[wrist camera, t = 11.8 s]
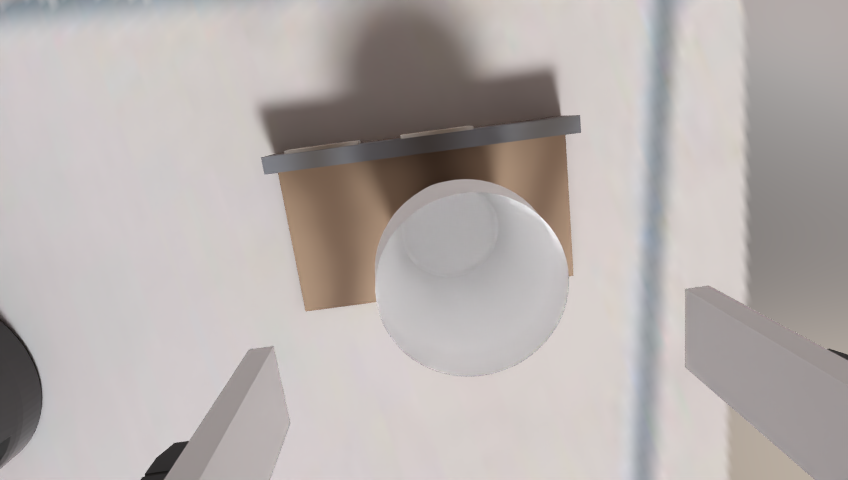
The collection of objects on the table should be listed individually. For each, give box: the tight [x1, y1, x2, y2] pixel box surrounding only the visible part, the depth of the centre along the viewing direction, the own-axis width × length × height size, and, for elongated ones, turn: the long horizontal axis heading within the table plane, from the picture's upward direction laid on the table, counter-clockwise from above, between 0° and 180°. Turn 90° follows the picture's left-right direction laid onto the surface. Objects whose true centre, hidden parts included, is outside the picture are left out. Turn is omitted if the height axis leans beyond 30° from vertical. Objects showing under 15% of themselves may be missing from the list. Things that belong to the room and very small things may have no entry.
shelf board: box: [261, 115, 581, 311], centre depth 32 cm, size 19×11×4 cm, turn 97°
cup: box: [375, 179, 569, 376], centre depth 28 cm, size 9×9×12 cm
